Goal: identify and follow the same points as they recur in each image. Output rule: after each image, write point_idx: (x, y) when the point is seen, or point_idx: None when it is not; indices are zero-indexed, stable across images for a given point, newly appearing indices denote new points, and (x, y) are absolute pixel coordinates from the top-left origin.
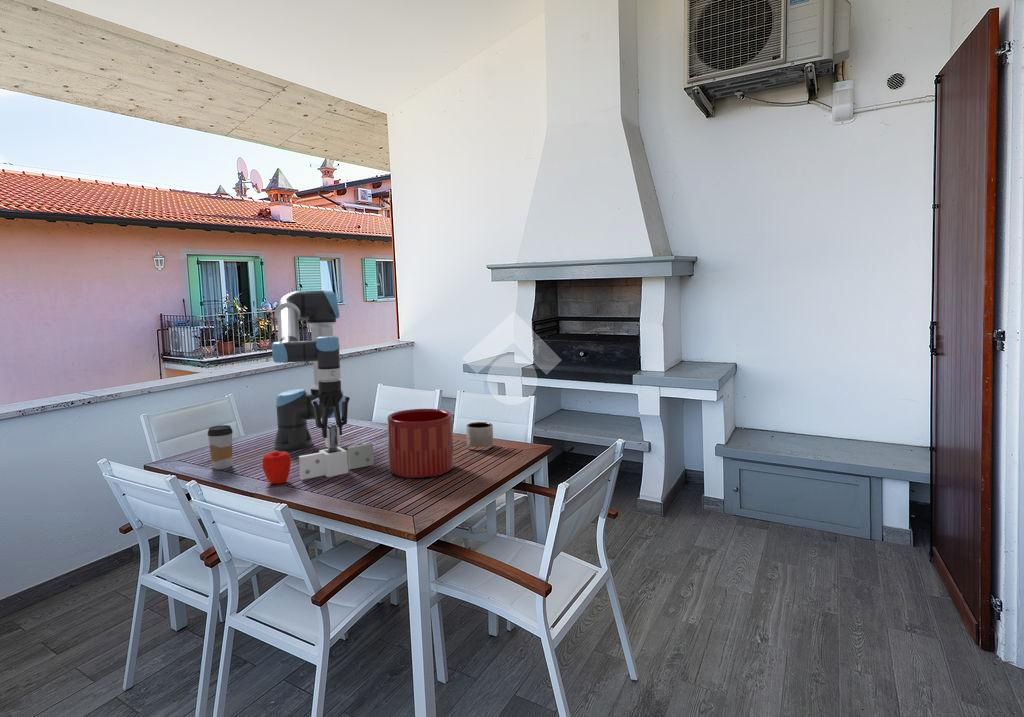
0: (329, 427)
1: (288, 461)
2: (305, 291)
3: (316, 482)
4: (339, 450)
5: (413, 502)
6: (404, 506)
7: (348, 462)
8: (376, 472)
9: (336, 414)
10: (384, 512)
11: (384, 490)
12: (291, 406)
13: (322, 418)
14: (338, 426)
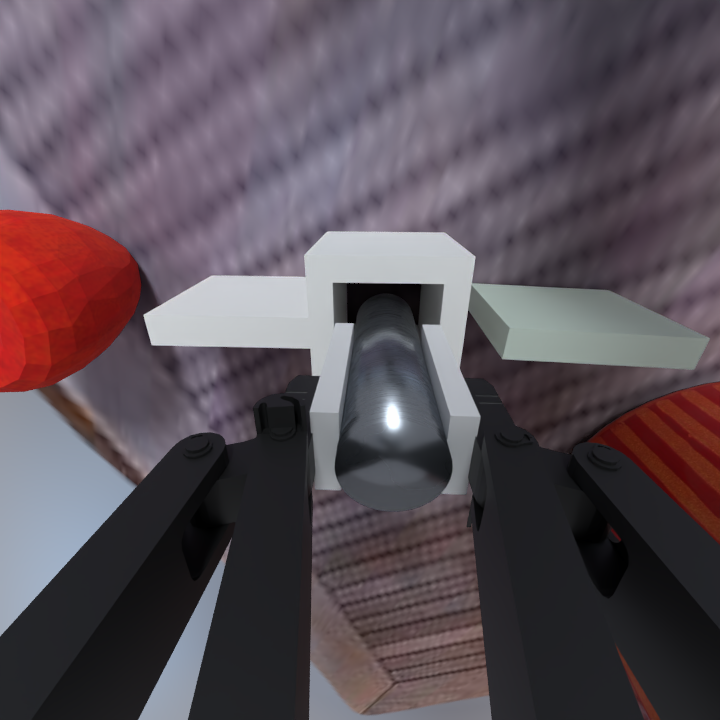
0: (347, 490)
1: (81, 367)
2: None
3: (269, 373)
4: (438, 324)
5: (440, 647)
6: (409, 651)
7: (477, 296)
8: (532, 410)
9: (492, 697)
10: (355, 650)
11: (433, 564)
12: None
13: (234, 556)
14: (470, 483)
